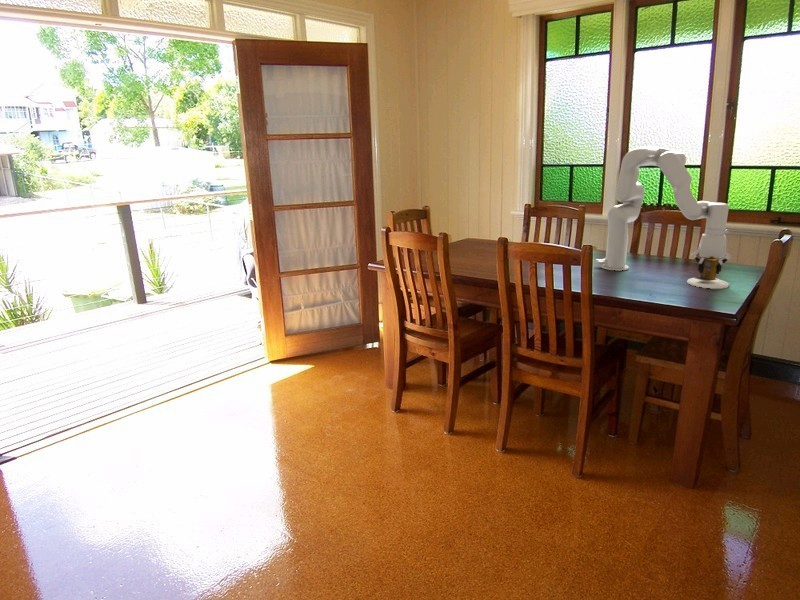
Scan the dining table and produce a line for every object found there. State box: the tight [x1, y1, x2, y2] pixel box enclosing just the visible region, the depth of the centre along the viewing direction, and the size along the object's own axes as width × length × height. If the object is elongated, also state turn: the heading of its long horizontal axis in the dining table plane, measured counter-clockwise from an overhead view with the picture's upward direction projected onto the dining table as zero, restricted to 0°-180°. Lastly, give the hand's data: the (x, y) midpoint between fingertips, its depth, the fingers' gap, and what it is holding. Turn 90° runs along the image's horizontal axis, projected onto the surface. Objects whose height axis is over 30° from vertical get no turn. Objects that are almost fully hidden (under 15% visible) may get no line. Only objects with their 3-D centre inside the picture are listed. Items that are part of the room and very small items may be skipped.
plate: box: [686, 278, 730, 290], centre depth 239 cm, size 16×16×1 cm
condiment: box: [692, 256, 720, 281], centre depth 237 cm, size 7×8×12 cm
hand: (708, 272), depth 238 cm, fingers closed on condiment, 6 cm apart
